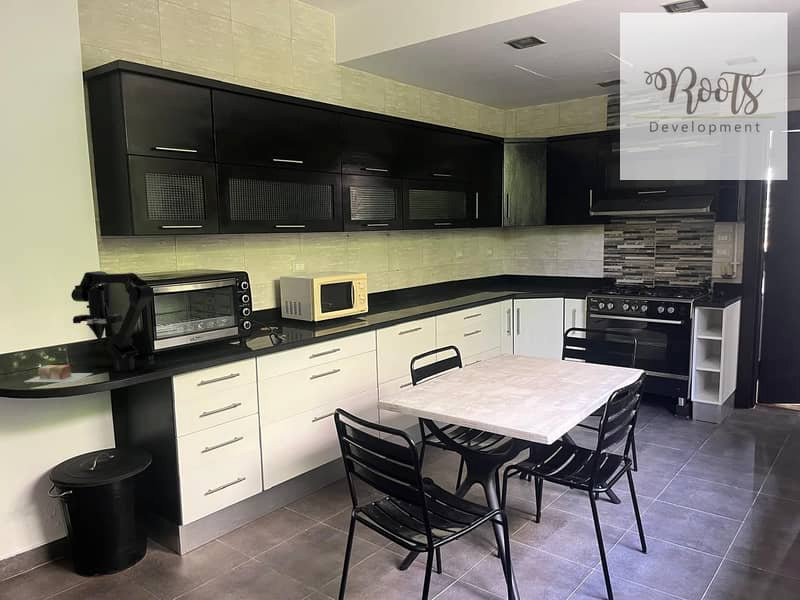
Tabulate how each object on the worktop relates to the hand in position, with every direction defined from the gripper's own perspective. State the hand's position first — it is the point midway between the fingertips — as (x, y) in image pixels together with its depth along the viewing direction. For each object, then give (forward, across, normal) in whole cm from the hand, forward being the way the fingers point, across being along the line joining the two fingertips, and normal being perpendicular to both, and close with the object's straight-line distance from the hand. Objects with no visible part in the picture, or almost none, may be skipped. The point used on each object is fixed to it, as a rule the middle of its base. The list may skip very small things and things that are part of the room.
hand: (99, 339), depth 243 cm
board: (+13, +8, +15) cm, 22 cm away
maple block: (+10, +4, +16) cm, 19 cm away
